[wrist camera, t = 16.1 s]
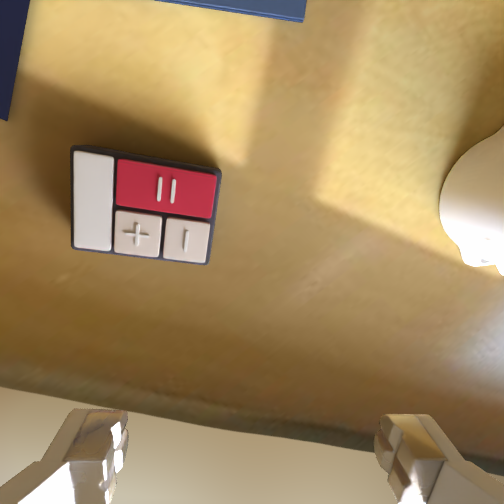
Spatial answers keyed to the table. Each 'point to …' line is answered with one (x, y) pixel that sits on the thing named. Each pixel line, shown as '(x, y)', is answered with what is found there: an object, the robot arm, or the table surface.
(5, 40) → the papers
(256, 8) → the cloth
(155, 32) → the table surface
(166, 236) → the button panel
